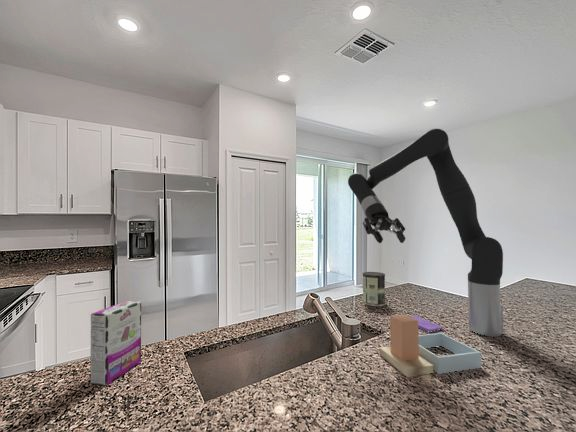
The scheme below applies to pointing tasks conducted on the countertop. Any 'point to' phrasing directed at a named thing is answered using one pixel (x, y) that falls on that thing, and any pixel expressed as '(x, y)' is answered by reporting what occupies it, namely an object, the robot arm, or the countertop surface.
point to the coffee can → (374, 288)
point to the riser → (407, 364)
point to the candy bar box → (115, 341)
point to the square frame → (450, 363)
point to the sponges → (426, 324)
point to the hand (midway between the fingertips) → (392, 241)
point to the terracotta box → (404, 337)
